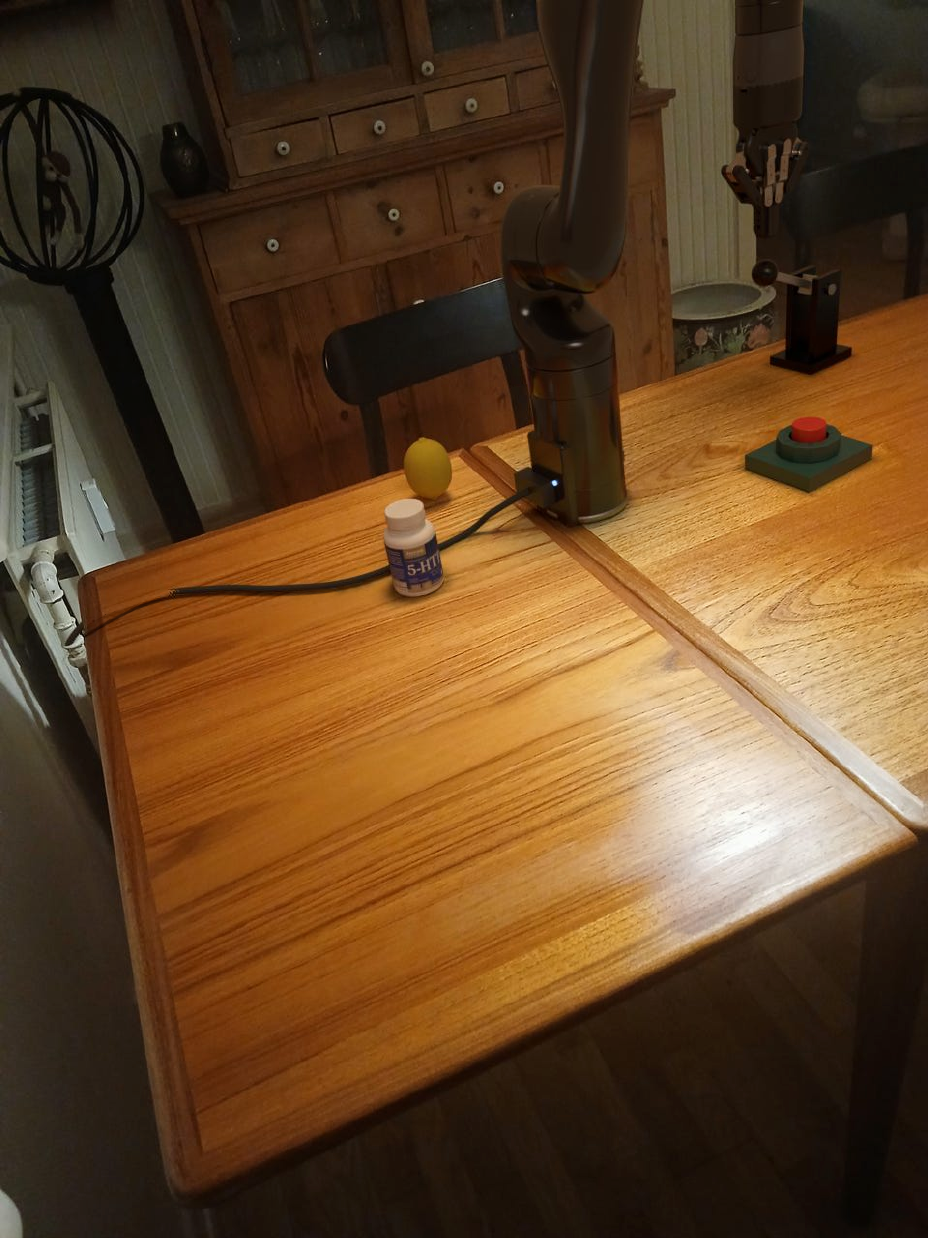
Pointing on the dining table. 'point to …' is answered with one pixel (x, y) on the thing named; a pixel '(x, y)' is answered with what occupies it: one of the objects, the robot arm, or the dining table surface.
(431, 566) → the pill bottle
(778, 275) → the tap lever
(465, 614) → the dining table surface
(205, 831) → the dining table surface
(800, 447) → the button block
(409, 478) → the lemon
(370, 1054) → the dining table surface
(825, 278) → the black lever stand
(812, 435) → the push button
